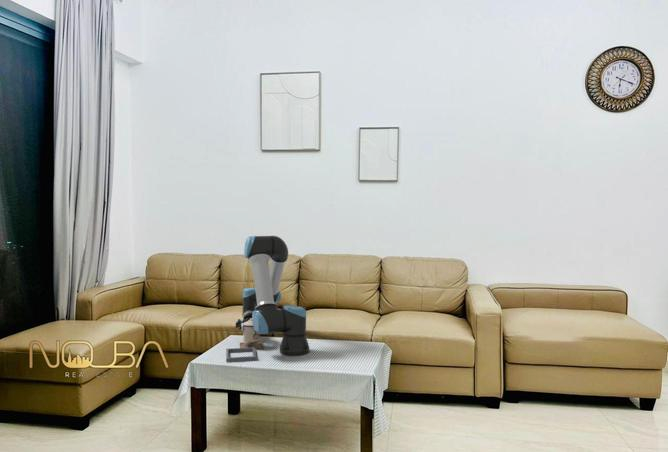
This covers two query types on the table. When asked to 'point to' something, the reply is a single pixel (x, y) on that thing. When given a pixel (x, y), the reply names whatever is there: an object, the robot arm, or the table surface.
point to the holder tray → (235, 359)
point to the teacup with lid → (250, 332)
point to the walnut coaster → (252, 345)
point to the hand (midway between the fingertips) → (251, 328)
